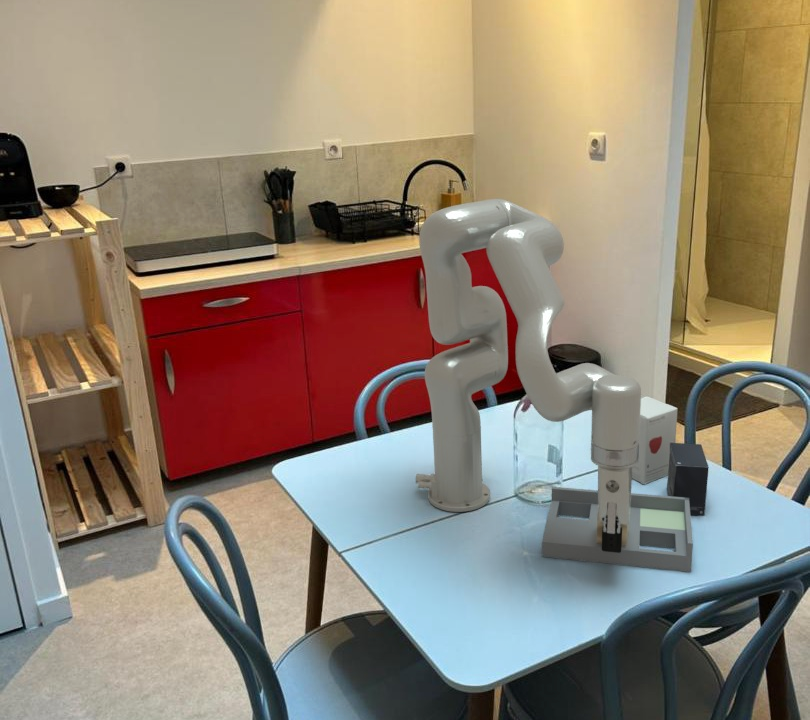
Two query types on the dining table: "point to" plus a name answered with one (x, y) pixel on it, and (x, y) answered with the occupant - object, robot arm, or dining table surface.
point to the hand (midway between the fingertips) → (611, 549)
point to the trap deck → (648, 526)
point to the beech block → (599, 531)
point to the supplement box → (654, 440)
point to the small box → (688, 475)
